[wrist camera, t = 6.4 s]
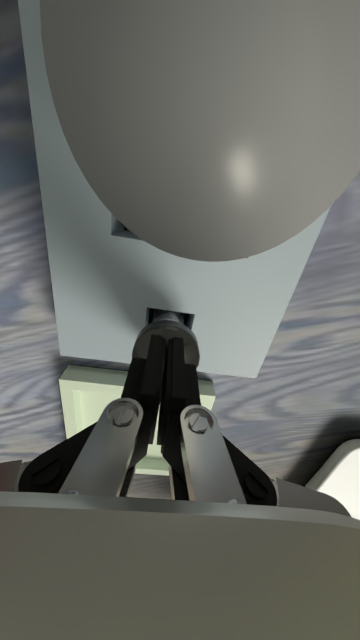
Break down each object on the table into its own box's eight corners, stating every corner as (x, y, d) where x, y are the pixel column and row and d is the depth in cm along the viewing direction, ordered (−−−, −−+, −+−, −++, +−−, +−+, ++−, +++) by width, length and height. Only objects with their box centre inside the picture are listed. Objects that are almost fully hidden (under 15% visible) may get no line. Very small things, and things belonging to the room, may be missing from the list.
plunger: (196, 294, 15) (206, 334, 11) (188, 336, 17) (192, 386, 12) (147, 287, 15) (133, 324, 10) (143, 330, 17) (130, 380, 12)
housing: (451, -197, 7) (605, -423, 5) (244, 353, 18) (255, 378, 16) (31, -368, 6) (-80, -807, 3) (78, 332, 17) (60, 355, 14)
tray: (212, 381, 20) (215, 396, 18) (187, 460, 26) (188, 477, 24) (68, 364, 19) (58, 379, 17) (77, 451, 25) (70, 468, 23)
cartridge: (254, 118, 11) (547, -219, 2) (226, 234, 14) (313, 279, 5) (145, 93, 11) (-4, -455, 2) (137, 218, 13) (60, 238, 4)
